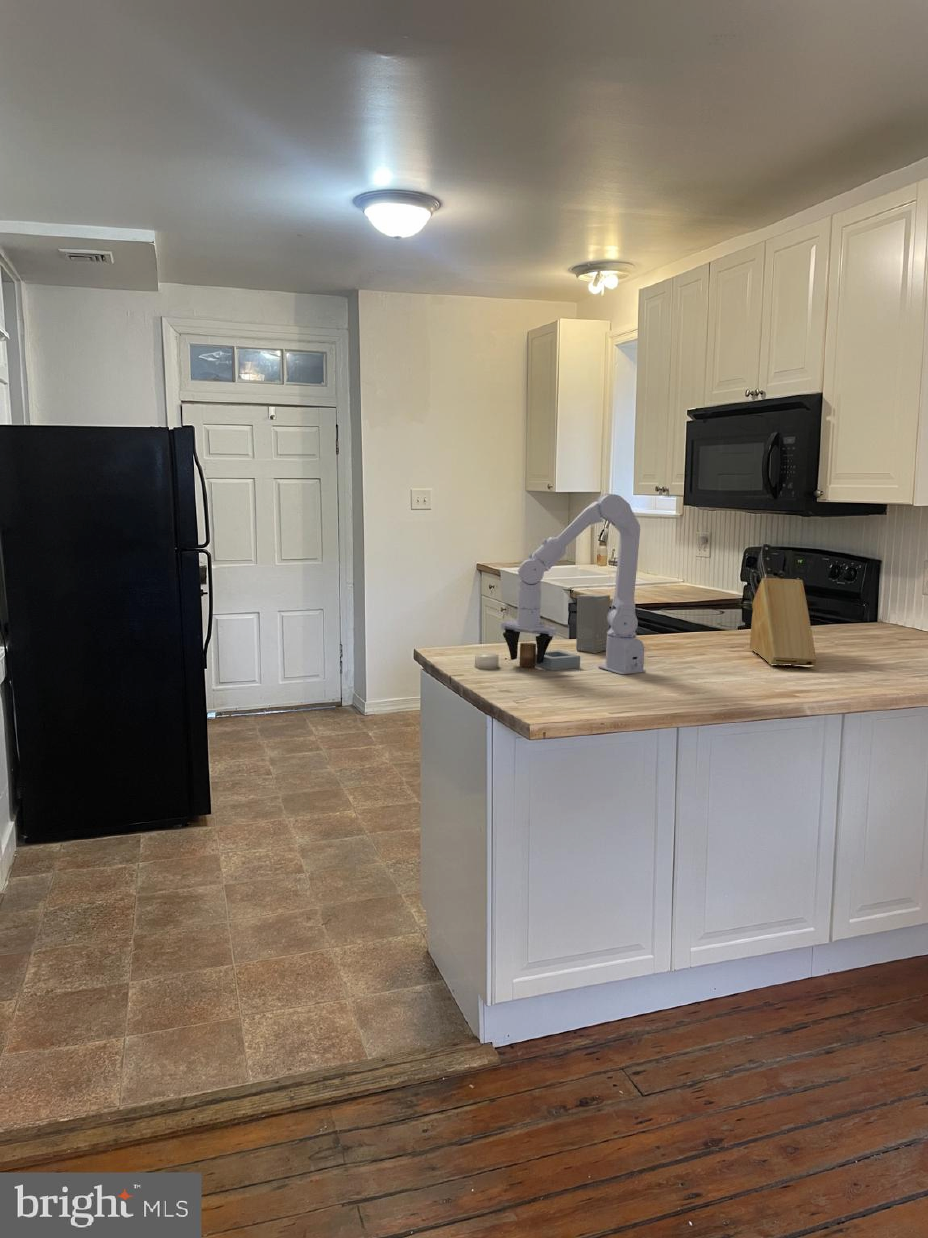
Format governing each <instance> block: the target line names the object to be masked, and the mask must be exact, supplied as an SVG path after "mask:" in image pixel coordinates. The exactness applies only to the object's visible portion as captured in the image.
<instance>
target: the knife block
mask: <svg viewBox="0 0 928 1238" xmlns="http://www.w3.org/2000/svg"><path fill="white" fill-rule="evenodd" d="M771 547H772V544H771V543H768V542H764V543H763V544H762V547H761V550H760V553H759V555H758V559H757V569H758V570H755V569H752V570H751V572H750V578H749V580H750V585H751V589H749V591H748V592H749V598H750V606H751V610H752V613H751V615H752V616H751V625H750V638H749V639H750V640H749V650H750V649H752V650H753V651H754V652H756V653H758V654H759V655H760V656H761V657H763V658H764V659H765V660H766V661H768V662H769V663H770V664H791V665H814V666H815V665H816V662H817V655H816V654H817V653H816V648H815V643H814V636H813V631H812V625H811V620H810V614H809V609H808V603H807V602H808V601H807V597H806V592H805V586H804V582H803V579H800V578H799V577H798V566H797V559H796V555H795V551H793V550H792V549H791V550H786V552H785V560H786V563H787V564H786V565H787V571H788V573H789V578H785V572H783V571H779V572H777V571H774V560H773V555H772V552H771ZM752 650H751V651H752ZM754 652H753V653H754ZM756 653H755V654H756ZM759 655H758V656H759ZM760 656H759V657H760ZM761 657H760V658H761ZM764 659H763V660H764ZM765 660H764V661H765ZM766 661H765V662H766ZM769 663H768V664H769ZM770 664H769V665H770Z"/></svg>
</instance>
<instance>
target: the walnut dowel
mask: <svg viewBox="0 0 928 1238" xmlns="http://www.w3.org/2000/svg"><path fill="white" fill-rule="evenodd" d="M536 652H537V644H536V642H535V643H534V642H520V644H519V668H520V669H522V670H523V669H525V670H533V669H536V666H535V662H536Z"/></svg>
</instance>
